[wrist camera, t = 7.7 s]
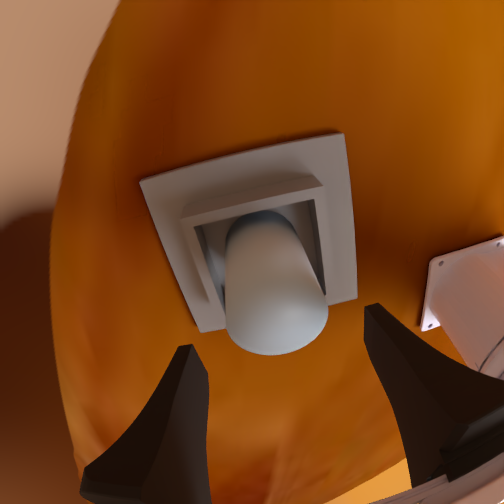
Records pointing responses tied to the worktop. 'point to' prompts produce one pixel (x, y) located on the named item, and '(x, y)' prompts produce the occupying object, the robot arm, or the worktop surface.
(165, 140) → the worktop surface
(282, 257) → the cylinder
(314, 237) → the grey square tray
